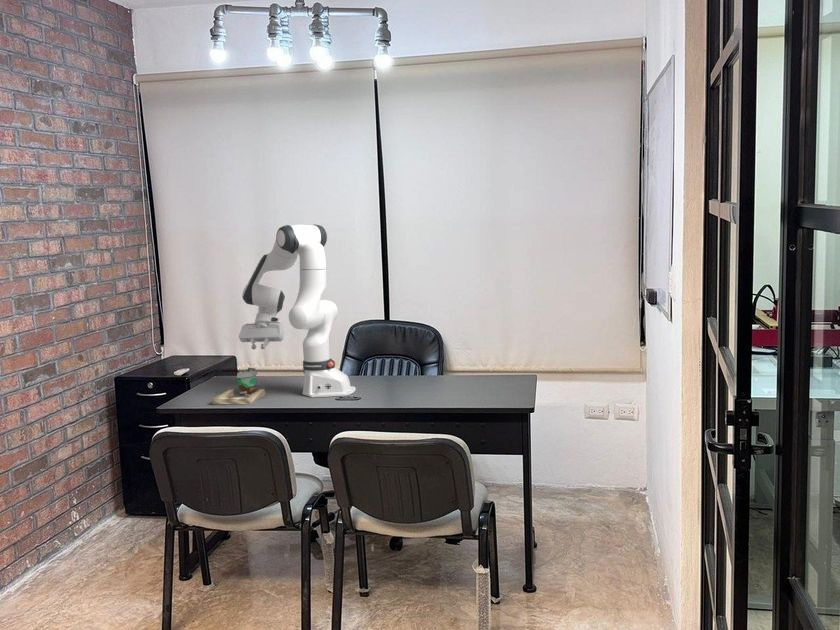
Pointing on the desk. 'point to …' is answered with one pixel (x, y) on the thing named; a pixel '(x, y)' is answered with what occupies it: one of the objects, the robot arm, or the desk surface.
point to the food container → (247, 381)
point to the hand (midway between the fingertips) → (258, 348)
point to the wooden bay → (225, 398)
